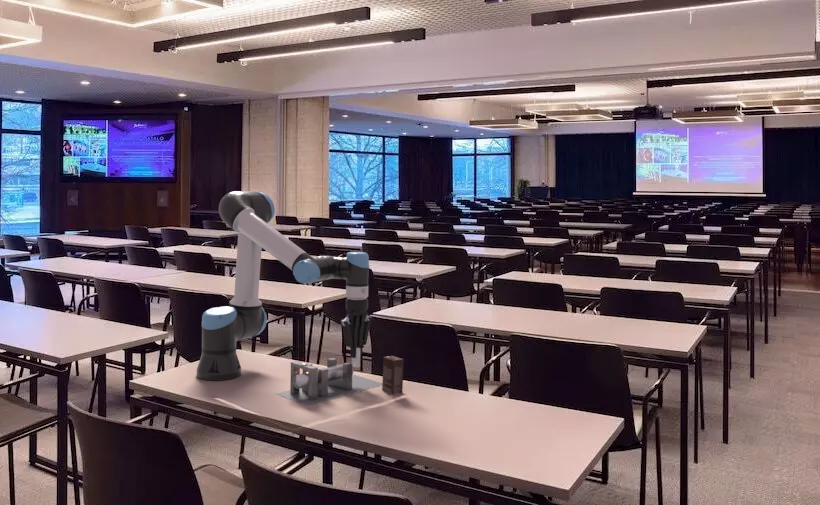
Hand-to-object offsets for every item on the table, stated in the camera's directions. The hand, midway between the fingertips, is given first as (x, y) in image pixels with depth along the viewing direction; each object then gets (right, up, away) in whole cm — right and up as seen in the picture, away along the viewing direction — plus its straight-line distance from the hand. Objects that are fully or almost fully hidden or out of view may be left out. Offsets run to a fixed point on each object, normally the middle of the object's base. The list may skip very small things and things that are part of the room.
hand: (355, 366), depth 232 cm
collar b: (-12, -7, -12) cm, 19 cm away
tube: (-10, -4, -10) cm, 14 cm away
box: (+13, -8, -7) cm, 17 cm away
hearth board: (-7, -7, -7) cm, 12 cm away
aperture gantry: (-15, -7, -16) cm, 23 cm away
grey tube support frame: (-5, -6, -4) cm, 9 cm away
